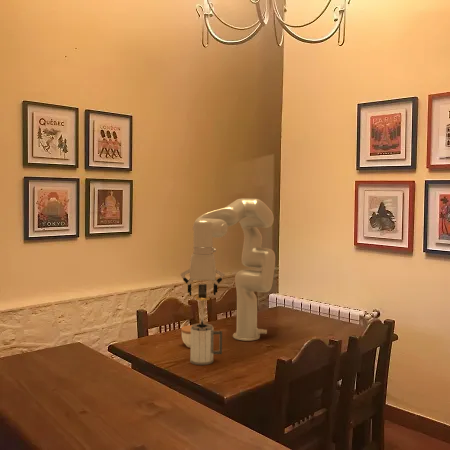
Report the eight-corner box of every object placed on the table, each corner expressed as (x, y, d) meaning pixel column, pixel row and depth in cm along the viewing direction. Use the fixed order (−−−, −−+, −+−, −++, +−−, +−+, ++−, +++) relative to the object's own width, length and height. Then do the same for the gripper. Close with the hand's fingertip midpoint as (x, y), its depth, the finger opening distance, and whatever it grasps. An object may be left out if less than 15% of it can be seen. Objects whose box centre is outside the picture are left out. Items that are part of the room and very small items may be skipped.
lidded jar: (202, 350, 213) (202, 328, 213) (178, 348, 216) (178, 326, 215) (208, 343, 224) (208, 322, 223) (184, 341, 226) (185, 320, 226)
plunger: (209, 333, 202) (210, 283, 201) (210, 337, 196) (211, 286, 194) (193, 333, 201) (194, 283, 200) (194, 337, 195) (194, 286, 194)
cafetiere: (220, 357, 204) (221, 322, 204) (222, 364, 195) (223, 328, 194) (190, 357, 203) (190, 323, 203) (190, 365, 194) (190, 329, 193)
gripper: (224, 250, 201) (223, 292, 202) (180, 250, 200) (180, 292, 201) (225, 252, 194) (225, 296, 195) (180, 252, 192) (180, 296, 193)
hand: (202, 294), depth 198 cm, fingers open, 9 cm apart
